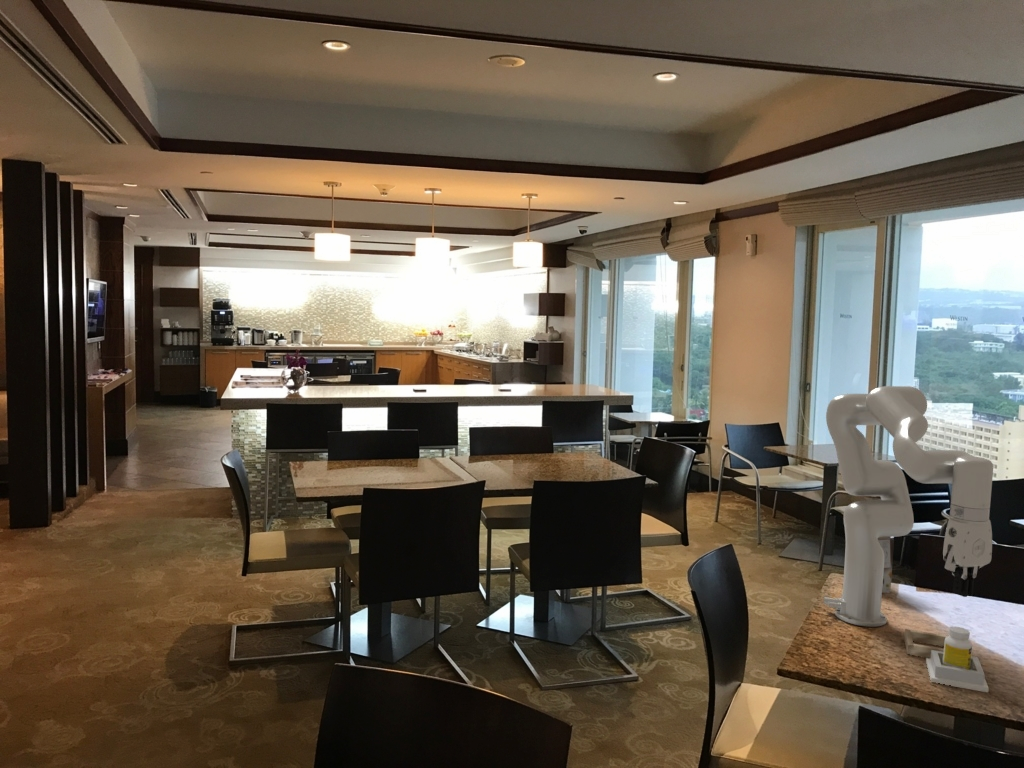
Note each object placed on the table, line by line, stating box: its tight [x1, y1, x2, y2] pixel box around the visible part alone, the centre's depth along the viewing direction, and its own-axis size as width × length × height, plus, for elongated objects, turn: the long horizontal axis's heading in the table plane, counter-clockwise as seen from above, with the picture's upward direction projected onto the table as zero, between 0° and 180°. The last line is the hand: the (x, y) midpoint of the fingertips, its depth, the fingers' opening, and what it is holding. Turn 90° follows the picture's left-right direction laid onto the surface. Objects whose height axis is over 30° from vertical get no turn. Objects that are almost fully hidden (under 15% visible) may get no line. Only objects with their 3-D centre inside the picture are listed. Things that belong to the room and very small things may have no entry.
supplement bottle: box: [942, 626, 973, 670], centre depth 179 cm, size 5×5×10 cm
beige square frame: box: [903, 628, 948, 659], centre depth 193 cm, size 10×10×2 cm
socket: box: [925, 650, 989, 693], centre depth 179 cm, size 11×11×4 cm
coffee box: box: [878, 537, 895, 594], centre depth 236 cm, size 9×6×16 cm
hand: (962, 594), depth 178 cm, fingers closed
